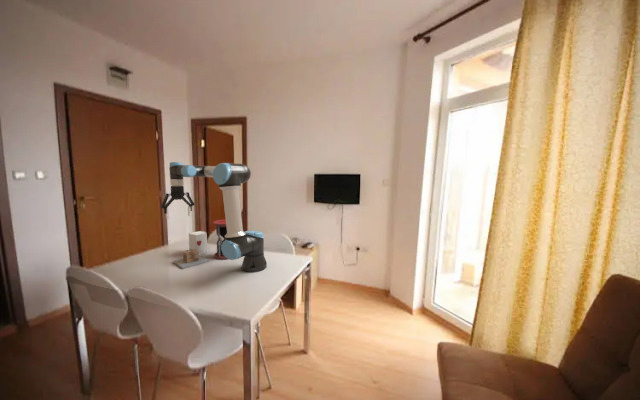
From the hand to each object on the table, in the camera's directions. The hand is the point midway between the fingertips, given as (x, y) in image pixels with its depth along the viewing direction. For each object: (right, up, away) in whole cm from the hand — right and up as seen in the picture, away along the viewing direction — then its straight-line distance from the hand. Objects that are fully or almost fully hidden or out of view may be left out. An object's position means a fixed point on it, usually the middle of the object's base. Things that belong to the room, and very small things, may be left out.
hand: (178, 217), depth 162 cm
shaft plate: (+10, -30, -3) cm, 31 cm away
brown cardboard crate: (+10, -28, -3) cm, 30 cm away
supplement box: (+5, -28, +16) cm, 32 cm away
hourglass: (+28, -28, +10) cm, 41 cm away
